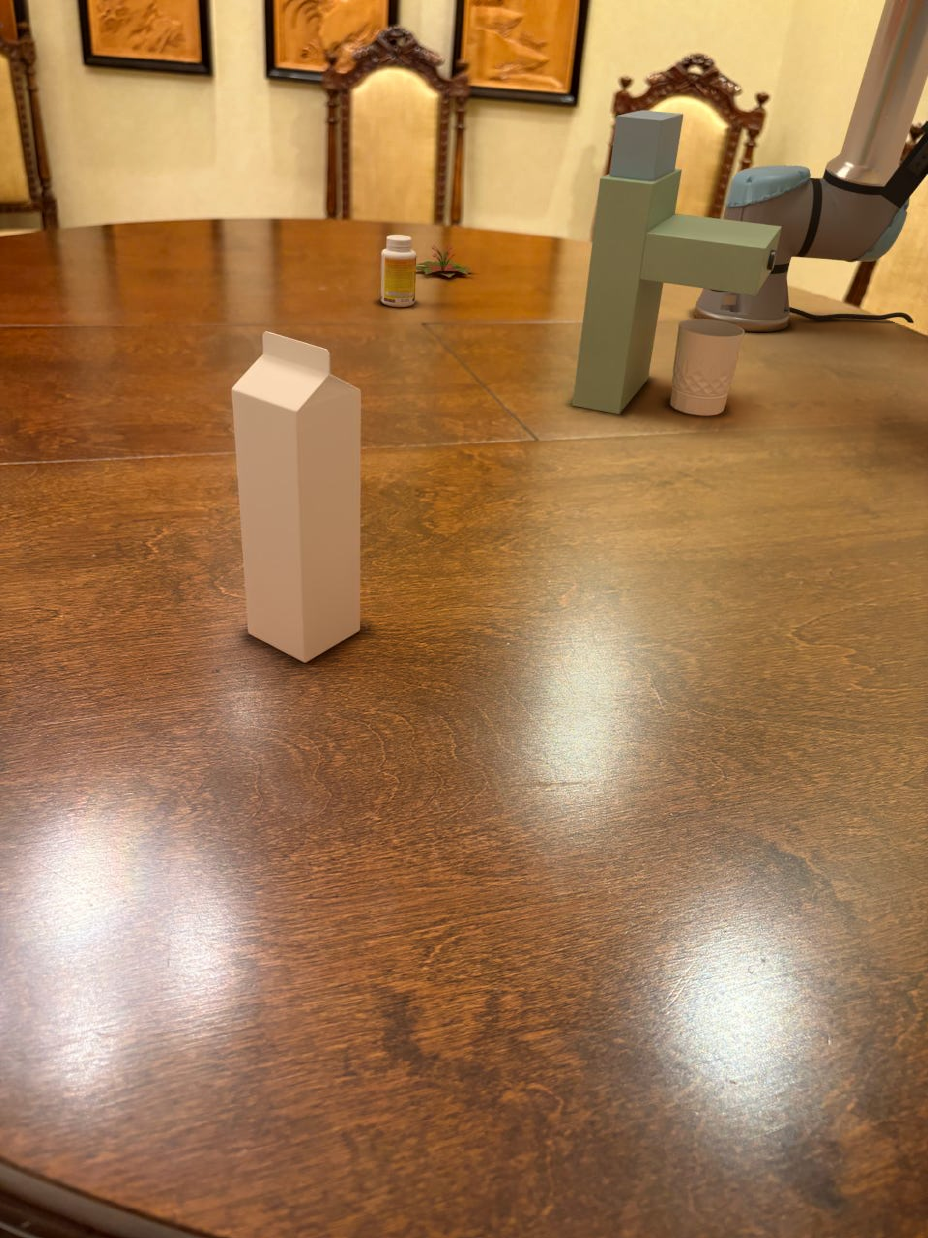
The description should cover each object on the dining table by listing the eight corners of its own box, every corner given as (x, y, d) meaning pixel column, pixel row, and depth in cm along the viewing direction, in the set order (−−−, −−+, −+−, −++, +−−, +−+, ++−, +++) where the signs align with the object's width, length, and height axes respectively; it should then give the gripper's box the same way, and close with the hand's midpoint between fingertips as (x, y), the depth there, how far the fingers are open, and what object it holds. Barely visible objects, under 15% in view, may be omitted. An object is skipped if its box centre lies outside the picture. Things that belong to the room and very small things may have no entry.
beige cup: (729, 421, 118) (746, 339, 113) (664, 413, 120) (678, 332, 114) (727, 400, 125) (743, 322, 120) (665, 393, 126) (679, 315, 121)
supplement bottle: (420, 306, 156) (422, 240, 151) (388, 308, 154) (389, 241, 149) (406, 298, 161) (408, 233, 155) (375, 300, 158) (376, 234, 153)
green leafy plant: (486, 273, 180) (488, 247, 178) (451, 283, 171) (453, 256, 169) (433, 262, 185) (434, 237, 183) (396, 272, 176) (397, 245, 174)
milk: (304, 604, 76) (295, 321, 65) (361, 631, 74) (363, 340, 62) (246, 634, 72) (226, 337, 61) (304, 665, 69) (295, 359, 58)
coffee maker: (749, 396, 127) (809, 124, 110) (731, 435, 114) (795, 134, 98) (605, 371, 133) (641, 108, 116) (572, 405, 120) (607, 116, 103)
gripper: (1027, -41, 100) (882, 153, 114) (1024, -44, 81) (851, 188, 95) (1088, 0, 99) (935, 190, 113) (1099, 6, 81) (914, 232, 95)
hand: (896, 189), depth 104 cm, fingers open, 13 cm apart
